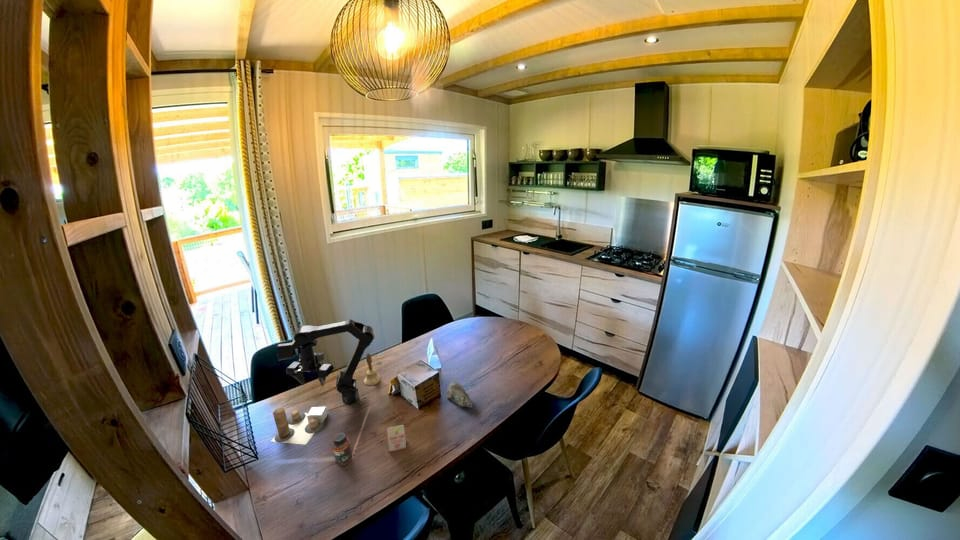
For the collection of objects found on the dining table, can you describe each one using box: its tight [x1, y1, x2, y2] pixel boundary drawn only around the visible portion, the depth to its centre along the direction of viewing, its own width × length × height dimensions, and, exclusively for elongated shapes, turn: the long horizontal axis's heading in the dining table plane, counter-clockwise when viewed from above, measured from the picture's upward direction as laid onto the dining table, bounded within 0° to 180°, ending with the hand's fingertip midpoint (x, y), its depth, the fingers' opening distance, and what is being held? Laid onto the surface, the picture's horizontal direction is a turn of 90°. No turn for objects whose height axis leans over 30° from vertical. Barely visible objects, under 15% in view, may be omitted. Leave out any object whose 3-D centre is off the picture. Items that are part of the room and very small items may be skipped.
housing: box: [307, 406, 328, 423], centre depth 143 cm, size 6×5×4 cm
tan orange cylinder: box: [272, 407, 290, 439], centre depth 133 cm, size 4×4×12 cm
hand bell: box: [363, 352, 381, 386], centre depth 167 cm, size 8×8×16 cm
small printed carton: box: [385, 424, 407, 453], centre depth 129 cm, size 4×7×10 cm, turn 105°
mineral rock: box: [446, 380, 473, 408], centre depth 152 cm, size 13×11×10 cm
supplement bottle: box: [331, 432, 353, 467], centre depth 123 cm, size 6×6×11 cm
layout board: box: [270, 409, 328, 446], centre depth 138 cm, size 18×16×4 cm
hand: (313, 385), depth 146 cm, fingers open, 9 cm apart
